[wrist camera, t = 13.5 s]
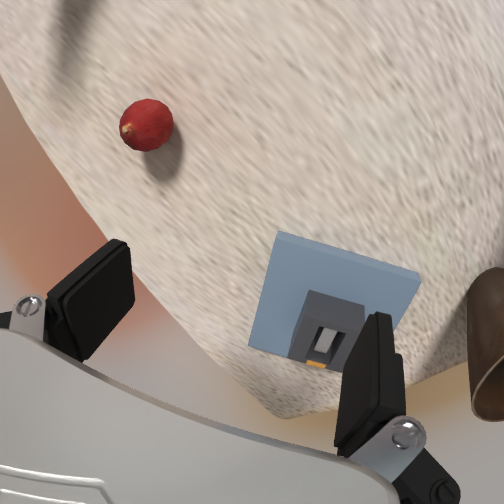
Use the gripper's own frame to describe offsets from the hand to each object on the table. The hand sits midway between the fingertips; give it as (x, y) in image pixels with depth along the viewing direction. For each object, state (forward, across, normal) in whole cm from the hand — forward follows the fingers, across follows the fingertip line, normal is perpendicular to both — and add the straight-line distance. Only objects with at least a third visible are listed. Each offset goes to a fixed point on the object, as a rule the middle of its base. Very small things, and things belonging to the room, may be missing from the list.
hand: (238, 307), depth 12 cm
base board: (+25, -7, +19) cm, 32 cm away
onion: (+25, +17, -1) cm, 30 cm away
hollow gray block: (+23, -7, +19) cm, 30 cm away
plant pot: (+26, -28, +10) cm, 39 cm away
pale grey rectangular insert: (+23, -7, +19) cm, 30 cm away
